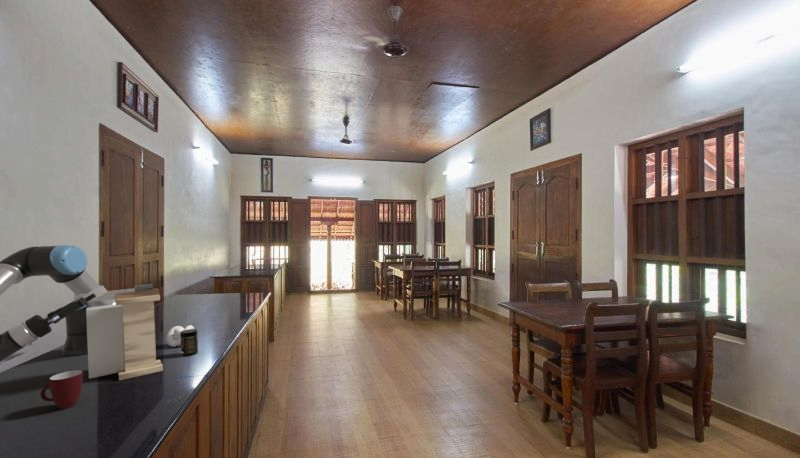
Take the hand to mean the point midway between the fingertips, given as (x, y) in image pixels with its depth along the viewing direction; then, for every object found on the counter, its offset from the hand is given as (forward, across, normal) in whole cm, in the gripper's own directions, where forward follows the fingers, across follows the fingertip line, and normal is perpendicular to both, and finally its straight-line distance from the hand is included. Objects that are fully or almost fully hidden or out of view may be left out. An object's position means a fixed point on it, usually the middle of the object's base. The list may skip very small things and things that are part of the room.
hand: (104, 288), depth 144 cm
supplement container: (+8, -11, -44) cm, 47 cm away
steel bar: (+1, 0, -5) cm, 5 cm away
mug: (-28, +20, -24) cm, 42 cm away
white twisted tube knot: (+8, -30, -45) cm, 54 cm away
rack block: (-17, -10, -30) cm, 36 cm away
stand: (-8, 0, -35) cm, 36 cm away
